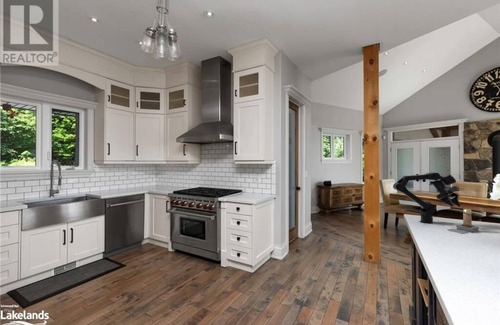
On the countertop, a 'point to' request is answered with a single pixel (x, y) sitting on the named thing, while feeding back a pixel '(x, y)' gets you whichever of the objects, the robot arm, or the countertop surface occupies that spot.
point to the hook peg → (467, 218)
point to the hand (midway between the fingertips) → (456, 206)
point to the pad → (457, 231)
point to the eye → (468, 228)
